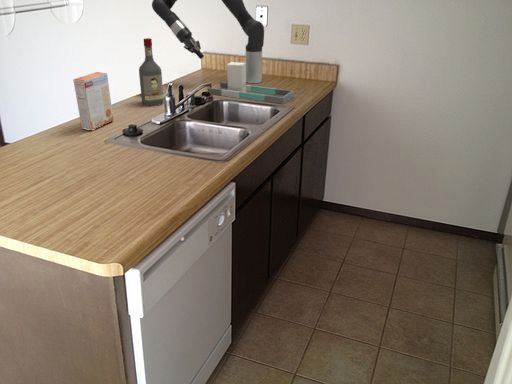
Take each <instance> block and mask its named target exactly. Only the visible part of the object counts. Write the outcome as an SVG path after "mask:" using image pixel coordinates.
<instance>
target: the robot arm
mask: <svg viewBox="0 0 512 384" xmlns="http://www.w3.org/2000/svg"><path fill="white" fill-rule="evenodd" d="M177 1H178V0H152V2H151V7H152V9H153V11H154V13H156V15H157V16H158V17H159V18H160V19H161V20H162V21H163V22H164V23H165V24H166V26H167V27H168V28H169V29H170V31H171V33H172V34H173V35H174V36H175V37H176V38H177V40H178V41H179V42H180V44H183V45H184V46H183V48H184V50H187V51H188V52H190V53H191V54H194V55H196V56H197V57H198V59H200V60H201V59H203V58H204V54H203V52H202V51H201V43H200V41H199V40H195V39H194V38H193V33H192V32H191V30H190V29H189V28H188V27H187V25H186V24H185V22H183V21H182V19H180V17H179V16H178V14H176V13H175V12H174V11H172V10H171V9H172V8H173V7H174V5H175V3H176V2H177ZM221 2H222V3H223V5H224V6H225V7H226V9H227V10H228V11H229V12H230V14H232V15H233V17H234V18H235V19H236V20H237V22H238V24H239V26H240V27H241V29H242V31H243V32H244V34H245V35H246V36H248V37H247V39H248V40H247V44H246V45H245V65H246V83H248V84H258V83H261V82H262V78H263V77H262V76H263V75H262V71H263V69H262V68H263V47H264V42H265V41H264V40H265V26H264V24H263V23H262V22H261V21H259V20H256V19H254V17H253V16H252V15H251V14H250V13H249V11H248V10H247V8H246V5H245V3H244V0H221Z"/></svg>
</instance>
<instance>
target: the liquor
mask: <svg viewBox="0 0 512 384" xmlns="http://www.w3.org/2000/svg"><path fill="white" fill-rule="evenodd" d="M143 47H144V61H143V62H142V64H141V65H140V66H139V68H138V75H139V76H138V77H139V85H140V94H141V95H140V97H141V102H142V104H143V103H144V104H143V105H144V106H146V105H156V106H159V105H158V104H161V105H162V103H163V104H164V102H165V101H164V100H165V99H164V90H163V89H164V88H163V76H162V74H163V73H162V68H161V67H160V66H159V65H158V64H157V62H155V59H154V55H153V40H152V38H150V37H148V38H143Z"/></svg>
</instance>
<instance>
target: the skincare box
mask: <svg viewBox="0 0 512 384" xmlns="http://www.w3.org/2000/svg"><path fill="white" fill-rule="evenodd" d="M226 74H227V75H226V78H227V79H226V80H227V83H228V90H230V91H238V92H246V93H247V91H246V85H247V82H246V62H240V61H239V62H238V61H237V62H235V61H231V62H229V63H227V64H226Z"/></svg>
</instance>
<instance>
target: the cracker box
mask: <svg viewBox="0 0 512 384" xmlns="http://www.w3.org/2000/svg"><path fill="white" fill-rule="evenodd" d="M73 86H74V91H75V97H76V103H77V108H78V109H77V110H78V115H79V120H80V124H81V125H80V127H81V129H82V128H87V129H95V128H97V127H99V126H102V125H104V124H106V123H109V122H111V121H113V120H114V113H113V106H112V99H111V92H110V84H109V78H108V73H107V72H100V71H96V72H92V73H90V74H86V75H83V76H79V77H76V78H73ZM113 122H114V121H113ZM111 123H112V122H111ZM109 124H110V123H109Z"/></svg>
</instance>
